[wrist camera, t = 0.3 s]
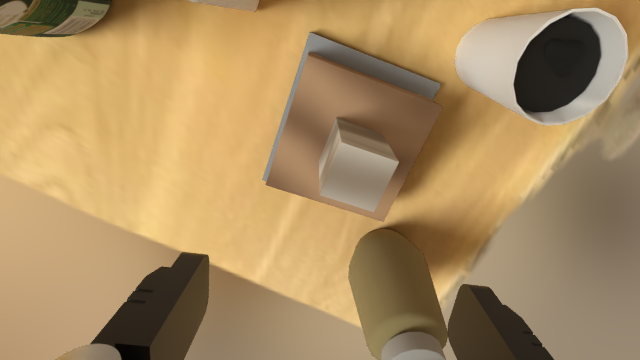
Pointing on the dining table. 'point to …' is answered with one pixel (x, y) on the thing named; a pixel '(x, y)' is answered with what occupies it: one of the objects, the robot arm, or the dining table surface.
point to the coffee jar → (50, 16)
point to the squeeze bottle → (396, 299)
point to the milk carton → (232, 4)
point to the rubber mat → (356, 62)
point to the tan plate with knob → (350, 138)
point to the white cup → (545, 62)
